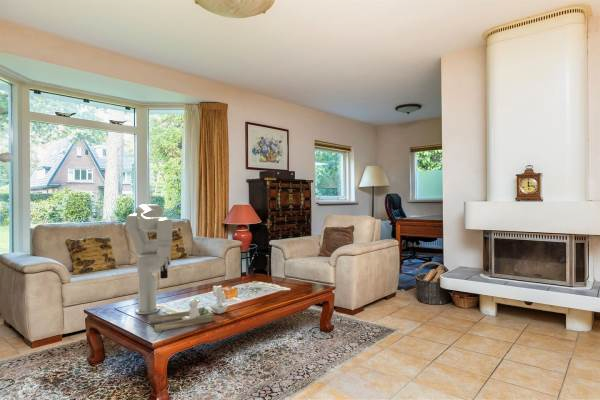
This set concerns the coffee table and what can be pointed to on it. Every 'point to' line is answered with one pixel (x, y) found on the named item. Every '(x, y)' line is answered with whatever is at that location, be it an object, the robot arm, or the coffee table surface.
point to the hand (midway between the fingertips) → (163, 277)
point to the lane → (199, 319)
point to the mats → (156, 324)
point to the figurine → (219, 300)
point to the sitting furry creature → (193, 309)
